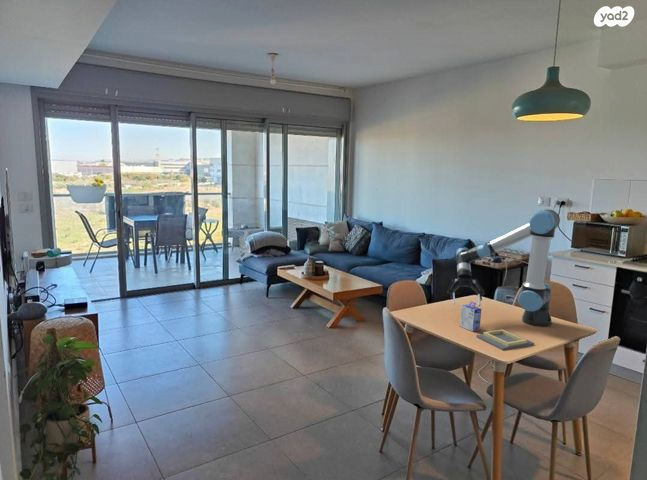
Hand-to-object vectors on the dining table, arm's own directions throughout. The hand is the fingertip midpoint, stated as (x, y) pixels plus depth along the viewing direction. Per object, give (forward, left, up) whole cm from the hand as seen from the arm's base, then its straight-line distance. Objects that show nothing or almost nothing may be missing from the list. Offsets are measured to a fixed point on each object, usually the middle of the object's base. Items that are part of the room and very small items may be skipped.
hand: (466, 304), depth 244 cm
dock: (-15, +22, -11) cm, 29 cm away
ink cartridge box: (-1, +6, -12) cm, 13 cm away
